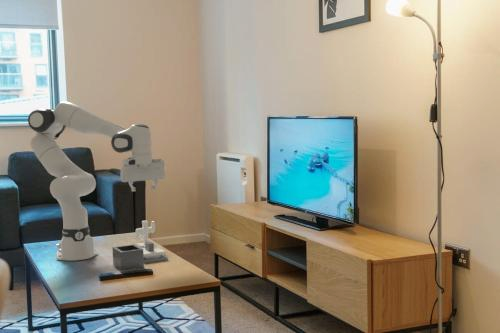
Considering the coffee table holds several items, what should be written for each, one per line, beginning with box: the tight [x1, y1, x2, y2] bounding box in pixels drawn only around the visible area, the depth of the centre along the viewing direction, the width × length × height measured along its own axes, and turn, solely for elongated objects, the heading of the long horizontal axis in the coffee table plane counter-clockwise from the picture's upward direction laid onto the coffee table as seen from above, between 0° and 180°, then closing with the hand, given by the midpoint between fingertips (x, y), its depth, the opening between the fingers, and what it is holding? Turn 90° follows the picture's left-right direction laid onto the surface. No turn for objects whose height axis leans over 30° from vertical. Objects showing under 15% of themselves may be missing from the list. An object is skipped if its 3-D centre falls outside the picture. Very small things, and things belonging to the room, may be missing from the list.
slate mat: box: [144, 254, 169, 264], centre depth 304 cm, size 14×12×1 cm
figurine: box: [135, 220, 156, 248], centre depth 317 cm, size 7×9×15 cm
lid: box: [142, 241, 167, 259], centre depth 303 cm, size 13×11×6 cm
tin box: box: [112, 243, 145, 272], centre depth 290 cm, size 12×10×8 cm
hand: (143, 190), depth 302 cm, fingers open, 8 cm apart
